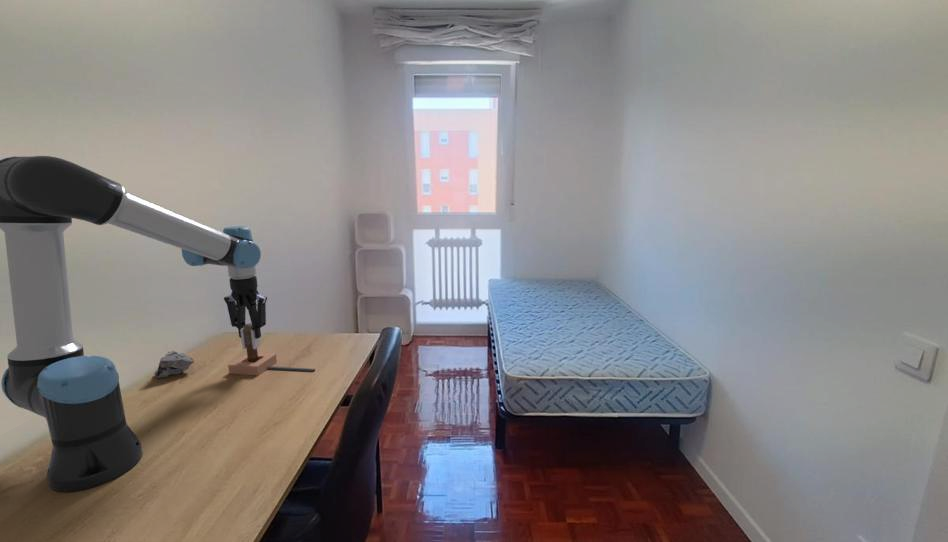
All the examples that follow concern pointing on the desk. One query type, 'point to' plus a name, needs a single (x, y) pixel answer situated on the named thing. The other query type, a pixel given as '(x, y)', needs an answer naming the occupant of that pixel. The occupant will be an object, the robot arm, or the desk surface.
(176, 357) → the mineral specimen
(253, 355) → the dowel
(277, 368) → the strip
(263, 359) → the pink square frame
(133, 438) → the robot arm
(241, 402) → the desk surface
